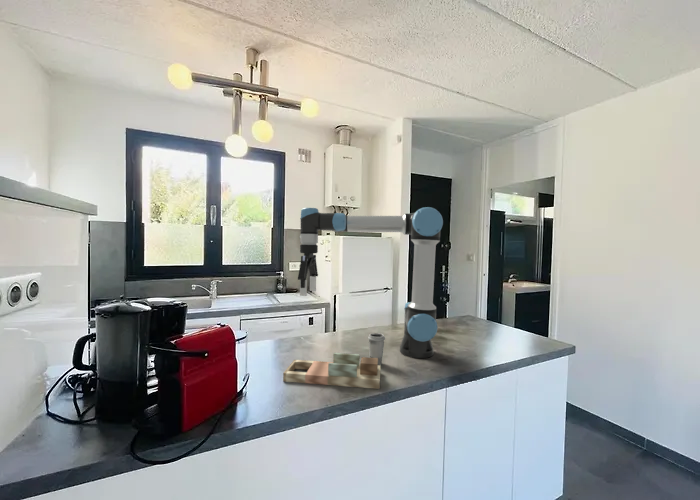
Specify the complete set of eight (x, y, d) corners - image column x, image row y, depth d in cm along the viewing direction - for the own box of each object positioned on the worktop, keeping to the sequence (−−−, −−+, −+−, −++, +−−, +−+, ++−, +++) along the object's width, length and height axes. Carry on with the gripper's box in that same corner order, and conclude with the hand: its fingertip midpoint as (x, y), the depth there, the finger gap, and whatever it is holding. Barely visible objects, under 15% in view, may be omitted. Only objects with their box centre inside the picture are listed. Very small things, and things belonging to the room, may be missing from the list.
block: (377, 368, 115) (377, 358, 115) (377, 375, 109) (377, 364, 109) (361, 367, 116) (361, 357, 116) (360, 374, 110) (360, 363, 110)
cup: (382, 360, 132) (382, 332, 132) (386, 366, 125) (387, 337, 125) (365, 361, 131) (366, 332, 130) (369, 367, 124) (370, 337, 124)
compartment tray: (380, 373, 119) (380, 355, 119) (379, 388, 106) (379, 368, 106) (294, 366, 123) (294, 349, 123) (283, 381, 110) (283, 361, 110)
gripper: (309, 243, 147) (308, 288, 147) (290, 243, 122) (289, 297, 122) (324, 244, 145) (323, 289, 146) (308, 244, 121) (307, 298, 121)
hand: (308, 293), depth 134 cm, fingers open, 13 cm apart
